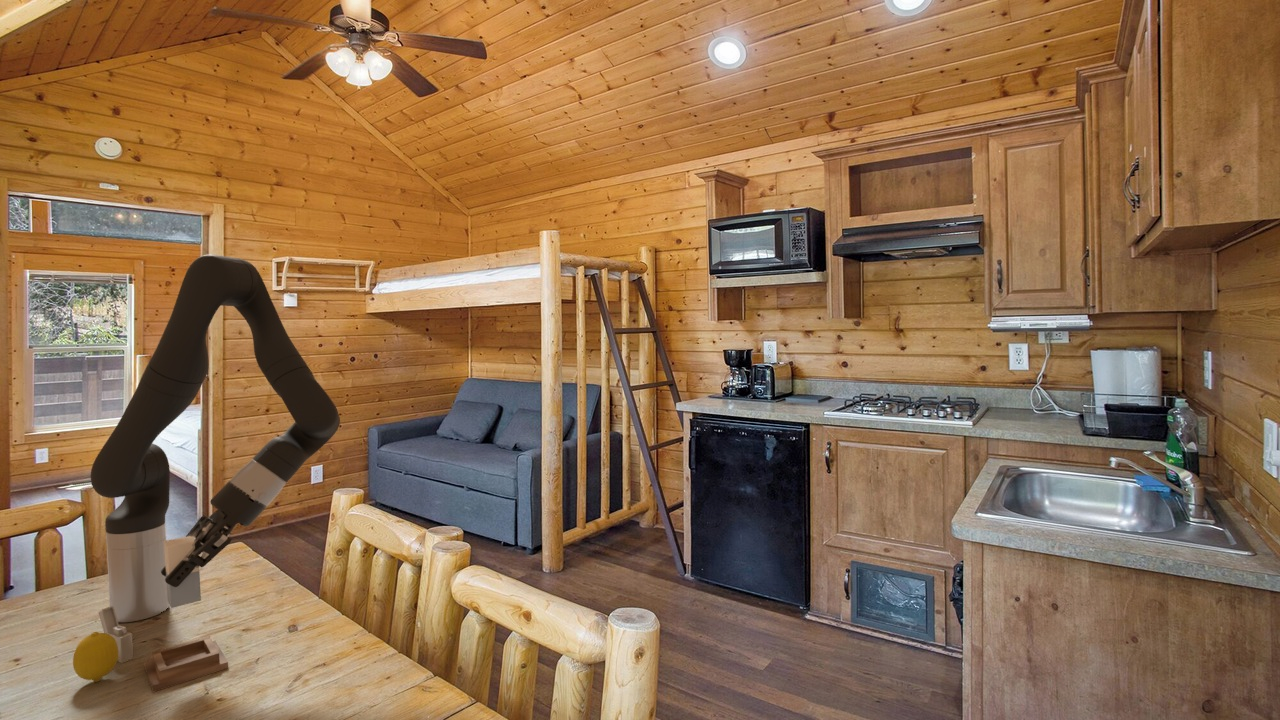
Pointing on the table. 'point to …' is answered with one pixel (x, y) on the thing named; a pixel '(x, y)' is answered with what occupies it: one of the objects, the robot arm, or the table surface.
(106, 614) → the lighter
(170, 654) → the socket board
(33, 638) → the table surface
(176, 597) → the brick block
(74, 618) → the table surface
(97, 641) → the lemon
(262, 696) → the table surface
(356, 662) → the table surface
